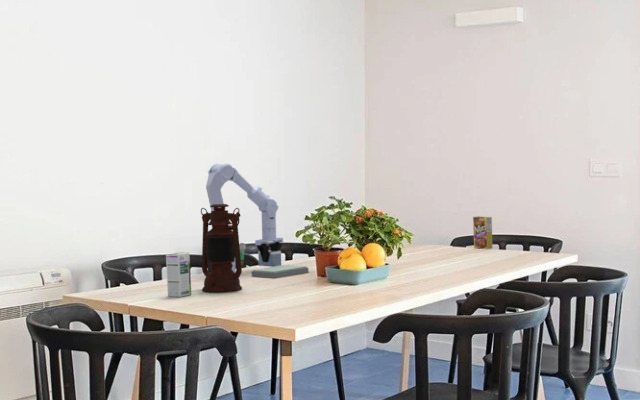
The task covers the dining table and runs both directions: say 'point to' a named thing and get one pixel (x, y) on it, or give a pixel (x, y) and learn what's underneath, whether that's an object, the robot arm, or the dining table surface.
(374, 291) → the dining table surface
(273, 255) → the housing
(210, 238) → the lantern
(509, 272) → the dining table surface
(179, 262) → the syrup box
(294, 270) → the stand
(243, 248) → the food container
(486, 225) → the candy box
